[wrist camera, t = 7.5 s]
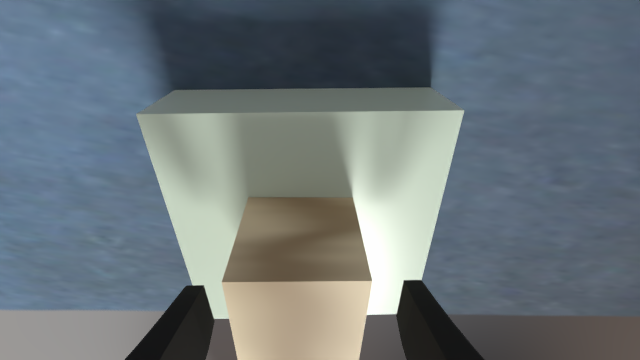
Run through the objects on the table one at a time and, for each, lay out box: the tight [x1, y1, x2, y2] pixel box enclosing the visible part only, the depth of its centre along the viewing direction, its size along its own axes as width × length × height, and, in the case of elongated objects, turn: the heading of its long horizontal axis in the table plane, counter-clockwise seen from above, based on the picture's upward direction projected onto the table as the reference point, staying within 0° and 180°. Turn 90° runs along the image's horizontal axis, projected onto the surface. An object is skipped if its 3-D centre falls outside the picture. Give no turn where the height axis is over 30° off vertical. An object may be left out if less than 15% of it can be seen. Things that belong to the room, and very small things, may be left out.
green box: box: [136, 87, 464, 319], centre depth 16 cm, size 12×12×4 cm
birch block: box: [222, 197, 372, 360], centre depth 12 cm, size 4×4×4 cm
